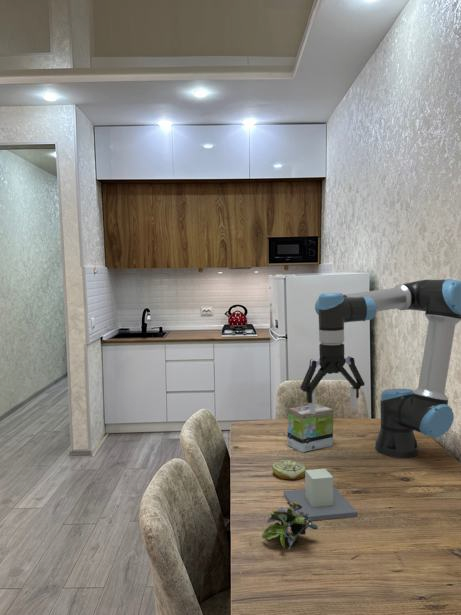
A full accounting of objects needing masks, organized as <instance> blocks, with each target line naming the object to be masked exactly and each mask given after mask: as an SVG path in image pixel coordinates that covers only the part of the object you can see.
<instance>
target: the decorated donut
mask: <svg viewBox="0 0 461 615" xmlns="http://www.w3.org/2000/svg"><path fill="white" fill-rule="evenodd" d="M305 470H307V469H306V467H305V465H304V464H303V462H300V461H296V460H294V459H280V460H278V461H275V463H273V464H272V471H273V473H274V475H275V476H277V477H278V478H279V479H282V480H291V481H292V480H295V481H296V480H300V479H302V478H304V477H305Z"/></svg>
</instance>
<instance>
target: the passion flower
mask: <svg viewBox="0 0 461 615" xmlns="http://www.w3.org/2000/svg"><path fill="white" fill-rule="evenodd" d="M286 503H287V504H288V506H289V507H288V506H287V507H285V508H284V507H281V508H278V509H277V510H275V509H272V512H270V515H271V516H270V517H269V518H268V520H267V524H269V523H272V522H275V523H274V524H273V523H272V524H270V525H269V526H268V527H267V528H265V530H264V531H263V532H262V534H261V537H262V539H265V540H266V541H271V540H272V539H275V538H277V537H279V541H280V544H281V546H282V548H283V549H285V548H286V545H285V542H286V541H285V540H286V538H287V543H288V547H287V548H288V549H287V550H286V552H287V553H288V552H289V551H290V549H291V547H292V546H293V543H294V542H295V541H296V540H297V538H298V536H299V535H304V536H305V535H306V531H307V529H308V528H311V529H312V530H318V528H319V527H318V525H316V524H314V523H313V522H312V521H311V518H309V517H308V515H309V514H307V513H306V514H304V512H299V509H302V506H301V505H300V504H297V503H295V502H288V501H287V502H286ZM292 507H293V508H294V509H292ZM297 510H298V511H297ZM277 521H278V522H277ZM289 527H290V532H289V530H288V528H289Z"/></svg>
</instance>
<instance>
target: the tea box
mask: <svg viewBox="0 0 461 615" xmlns="http://www.w3.org/2000/svg"><path fill="white" fill-rule="evenodd" d="M287 410H288V411H287V433H286V434H287V437H286V438H287V439H286V440H287V442H286V444H287V446H289V447H291V448H293V449H294V450H296V451H299V452H300V453H306V452H309V451H314V450H319V449H324V448H329V447H333V444H334V443H333V442H334V441H333V440H334V434H333V433H334V409H333V408H330V407H328V406H325V405H321V404H319V403H315V414H312V413H311V412H310V404H309V405H303V406H297V407H291V408H288V409H287Z"/></svg>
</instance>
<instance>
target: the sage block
mask: <svg viewBox="0 0 461 615" xmlns="http://www.w3.org/2000/svg"><path fill="white" fill-rule="evenodd" d="M304 477H305V478H304V479H305V480H304V483H305V485H304V486H305V488H304V489H305V497H306V499H307V500H308V502H309V503H310V504H311V506H312V507H317V506H328V505H333V487H334V477H333V475H331V473H330V472H329V471H328V470H327V469H326V468H317V469H315V468H314V469H305V475H304Z"/></svg>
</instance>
